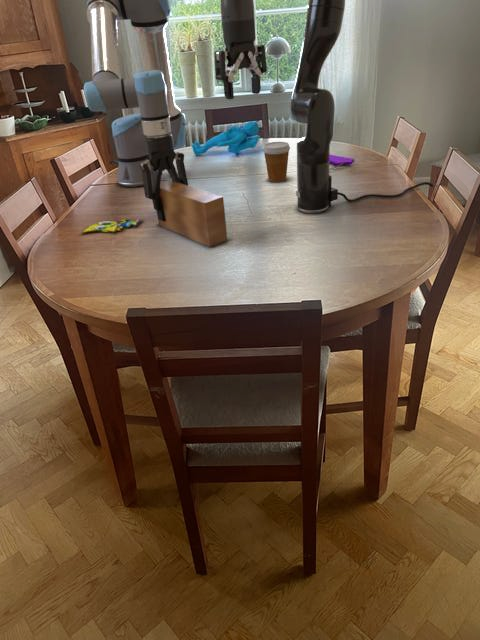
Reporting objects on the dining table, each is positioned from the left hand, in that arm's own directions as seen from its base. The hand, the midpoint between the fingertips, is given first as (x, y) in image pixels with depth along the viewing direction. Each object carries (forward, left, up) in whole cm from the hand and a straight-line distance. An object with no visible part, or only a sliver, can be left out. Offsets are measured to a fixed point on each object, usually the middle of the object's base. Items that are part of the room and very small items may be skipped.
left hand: (171, 216), depth 142 cm
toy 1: (-9, -16, -3) cm, 19 cm away
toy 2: (-65, +48, -3) cm, 81 cm away
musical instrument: (-24, +70, -3) cm, 74 cm away
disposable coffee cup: (-17, +46, -3) cm, 49 cm away
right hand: (+17, +18, +32) cm, 40 cm away
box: (+9, +2, -3) cm, 10 cm away
